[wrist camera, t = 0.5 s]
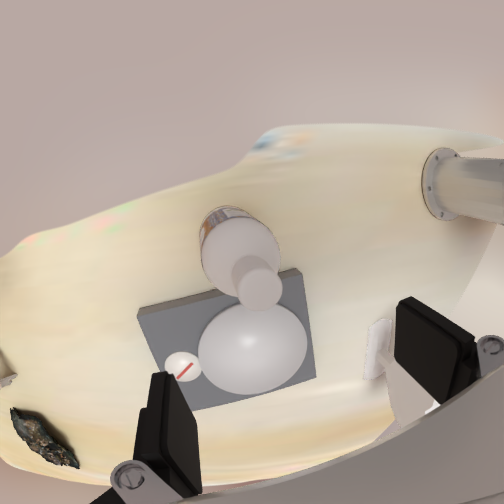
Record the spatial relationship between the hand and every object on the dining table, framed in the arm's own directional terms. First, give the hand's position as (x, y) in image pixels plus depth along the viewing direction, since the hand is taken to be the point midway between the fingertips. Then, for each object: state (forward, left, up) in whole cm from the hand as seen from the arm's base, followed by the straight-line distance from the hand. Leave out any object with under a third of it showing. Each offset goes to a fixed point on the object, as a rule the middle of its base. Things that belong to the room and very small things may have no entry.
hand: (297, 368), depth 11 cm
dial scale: (+3, +16, -28) cm, 32 cm away
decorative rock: (+49, +32, -29) cm, 65 cm away
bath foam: (0, 0, -28) cm, 28 cm away
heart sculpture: (-21, +27, -28) cm, 45 cm away
